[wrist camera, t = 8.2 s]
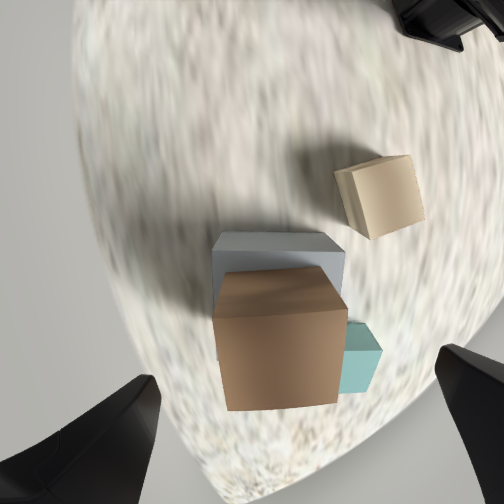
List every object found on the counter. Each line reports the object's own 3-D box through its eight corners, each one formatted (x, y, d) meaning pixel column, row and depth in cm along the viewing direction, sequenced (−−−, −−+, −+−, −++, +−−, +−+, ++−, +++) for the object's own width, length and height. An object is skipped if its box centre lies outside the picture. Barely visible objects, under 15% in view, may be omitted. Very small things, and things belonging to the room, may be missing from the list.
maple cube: (382, 156, 18) (410, 154, 14) (396, 209, 19) (425, 219, 15) (332, 171, 18) (351, 171, 14) (349, 226, 19) (370, 240, 15)
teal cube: (365, 323, 21) (382, 350, 17) (352, 362, 22) (365, 392, 18) (318, 321, 21) (329, 350, 17) (308, 361, 22) (316, 393, 18)
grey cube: (324, 232, 19) (345, 252, 15) (315, 321, 21) (329, 360, 16) (222, 230, 19) (211, 250, 15) (224, 321, 21) (216, 360, 17)
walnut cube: (320, 266, 15) (348, 308, 10) (318, 345, 16) (336, 402, 11) (225, 272, 15) (211, 318, 10) (234, 350, 16) (227, 410, 11)
